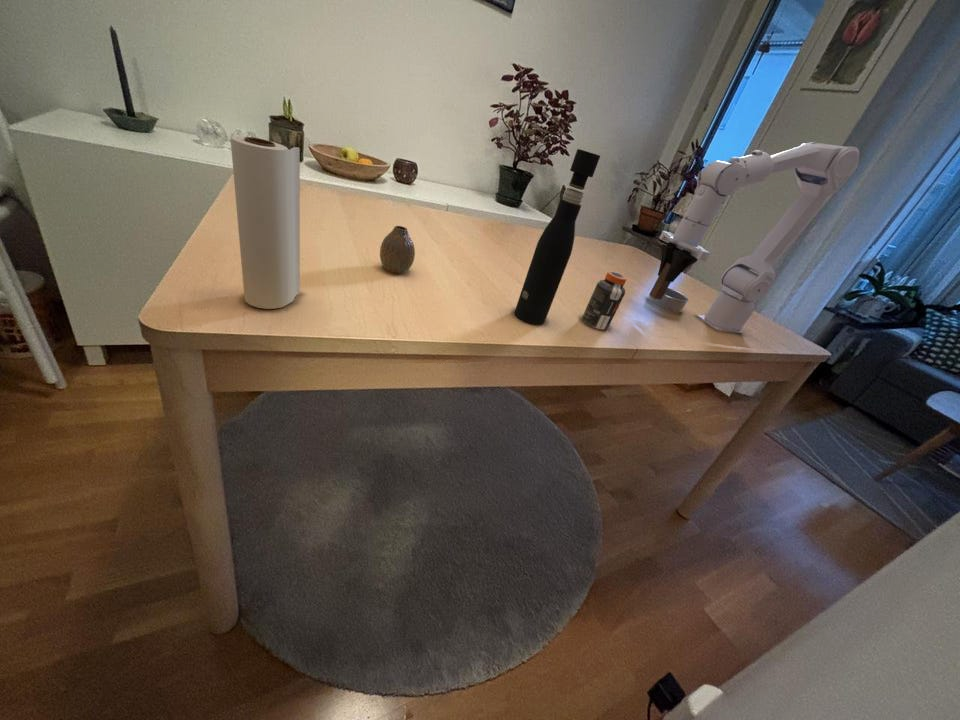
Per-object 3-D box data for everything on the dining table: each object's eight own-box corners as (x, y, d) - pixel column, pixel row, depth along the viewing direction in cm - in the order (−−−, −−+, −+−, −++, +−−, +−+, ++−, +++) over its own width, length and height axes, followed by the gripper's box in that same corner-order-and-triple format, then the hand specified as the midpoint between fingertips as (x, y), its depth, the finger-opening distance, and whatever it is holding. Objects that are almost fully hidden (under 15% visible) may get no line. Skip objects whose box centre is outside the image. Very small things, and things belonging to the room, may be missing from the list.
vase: (418, 273, 80) (425, 232, 76) (396, 279, 75) (402, 235, 70) (394, 261, 83) (399, 220, 78) (370, 265, 77) (375, 222, 73)
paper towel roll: (241, 308, 53) (225, 137, 42) (247, 289, 58) (234, 131, 46) (298, 312, 56) (297, 153, 45) (299, 294, 61) (299, 145, 49)
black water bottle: (548, 318, 78) (610, 158, 62) (539, 328, 73) (605, 157, 57) (520, 306, 79) (574, 147, 64) (509, 315, 74) (565, 145, 58)
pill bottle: (609, 333, 79) (634, 283, 73) (582, 324, 79) (604, 274, 74) (606, 322, 84) (629, 274, 78) (581, 313, 85) (602, 265, 79)
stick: (655, 295, 94) (673, 263, 90) (661, 299, 93) (679, 267, 88) (648, 294, 94) (666, 262, 89) (654, 298, 92) (672, 265, 87)
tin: (666, 300, 111) (673, 288, 109) (687, 316, 103) (695, 302, 101) (640, 296, 108) (647, 283, 106) (660, 311, 100) (668, 298, 98)
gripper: (662, 209, 88) (635, 264, 95) (705, 227, 76) (670, 289, 84) (685, 215, 90) (657, 269, 97) (730, 234, 79) (694, 293, 86)
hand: (664, 278), depth 91 cm, fingers closed on stick, 2 cm apart
